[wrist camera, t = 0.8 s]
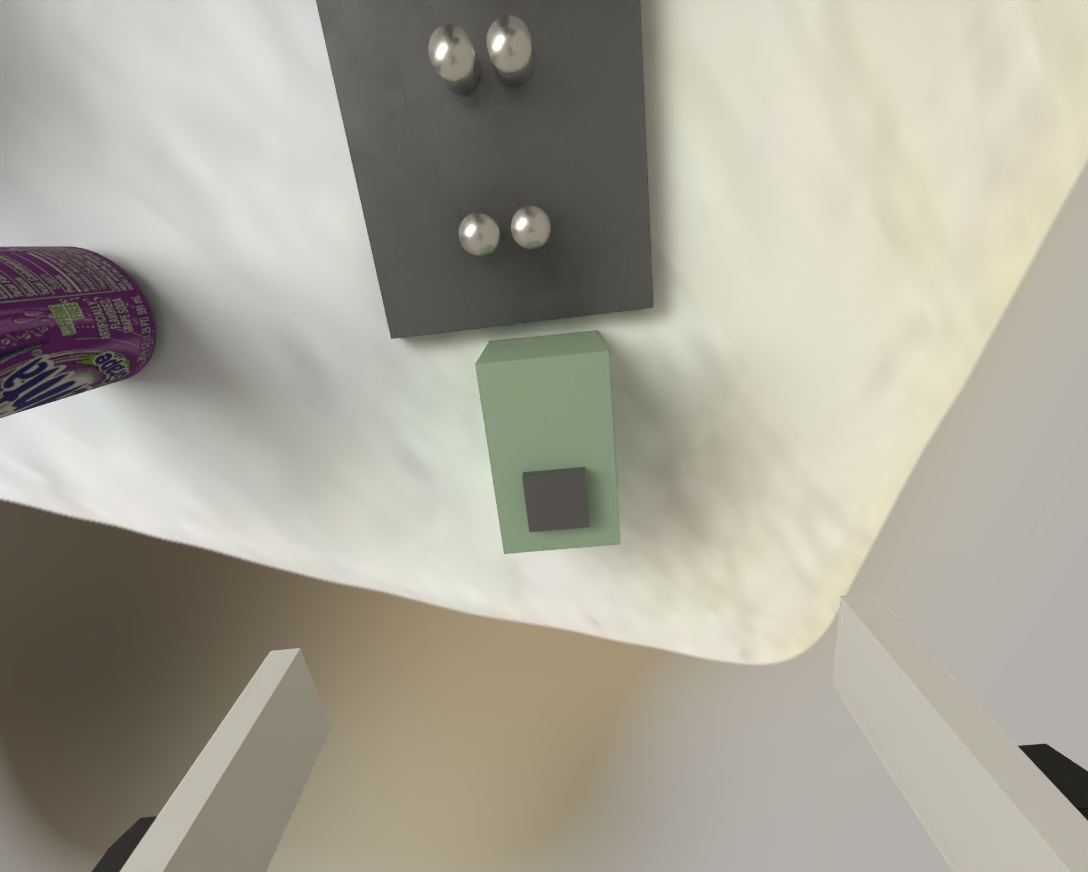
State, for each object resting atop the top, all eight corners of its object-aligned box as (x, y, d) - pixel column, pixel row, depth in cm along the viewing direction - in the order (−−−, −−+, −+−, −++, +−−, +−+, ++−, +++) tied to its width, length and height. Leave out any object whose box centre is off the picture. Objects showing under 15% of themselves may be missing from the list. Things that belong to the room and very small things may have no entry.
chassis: (318, -23, 23) (279, -68, 20) (632, -72, 22) (647, -127, 19) (396, 335, 28) (376, 347, 25) (649, 305, 28) (663, 313, 24)
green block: (489, 340, 29) (473, 367, 22) (597, 329, 28) (610, 353, 22) (511, 499, 32) (503, 560, 26) (607, 491, 32) (621, 550, 26)
